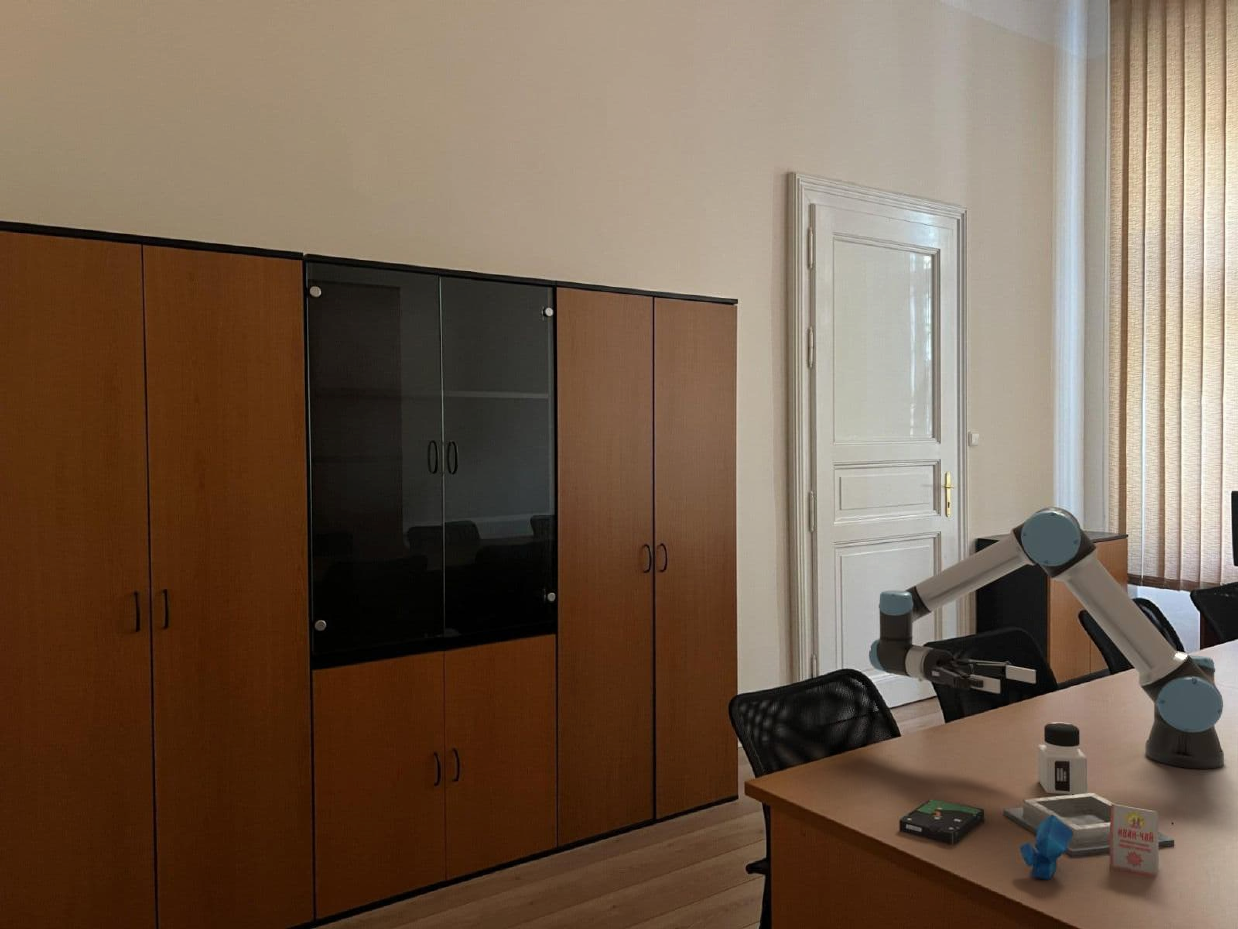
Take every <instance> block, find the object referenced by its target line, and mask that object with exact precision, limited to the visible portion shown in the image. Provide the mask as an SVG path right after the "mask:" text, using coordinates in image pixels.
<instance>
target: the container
mask: <svg viewBox="0 0 1238 929" xmlns="http://www.w3.org/2000/svg"><path fill="white" fill-rule="evenodd" d="M1043 731H1044V744H1038V745H1037V772H1038V773H1037V780H1038V782H1039V783H1040V785H1041V787H1042V788H1043V790H1044V791H1045V793H1047V794H1057V795H1058V794H1059V795H1072V794H1086V793H1088V758H1087V756H1086V754H1084V753H1083V752H1082V750H1081V749H1080V745H1081V744H1080V737H1081V736H1080V729H1079V727H1077V726H1076V725H1074V724H1072V723H1069V722H1060V721H1055V722H1050V723H1047V724H1045V726H1044V730H1043Z"/></svg>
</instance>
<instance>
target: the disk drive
mask: <svg viewBox="0 0 1238 929" xmlns="http://www.w3.org/2000/svg"><path fill="white" fill-rule="evenodd" d="M984 822H985V809H984V808H980V807H975V806H971V805H966V804H963V803H958V802H957V803H954V802H951V801H944V800H940V799H938V798H934V799H933V798H932V799H930V800H926V801H925V802H924V803H922V804H921V805H920V806H918V807H916V808H914V809H913V810H912V811H910V812H909V813H907V814H906V815H904V816H902V817H901V818H900V819H899V821H898V823H899V829H898V830H899V832H901V833H904V834H905V833H906V834H909V835H913V836H916V837H921V838H924V839H928V840H930V841H934V842H938V843H943V844H947V845H951V846H954V845H955V844H957V843H959V841H960V840H962V839H963V838H964V837H965V836H967V835H968V834H969V833H971V832H972V831H973V830H974V829H977V827H978V826H980V825H981V824H982V823H984Z"/></svg>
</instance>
